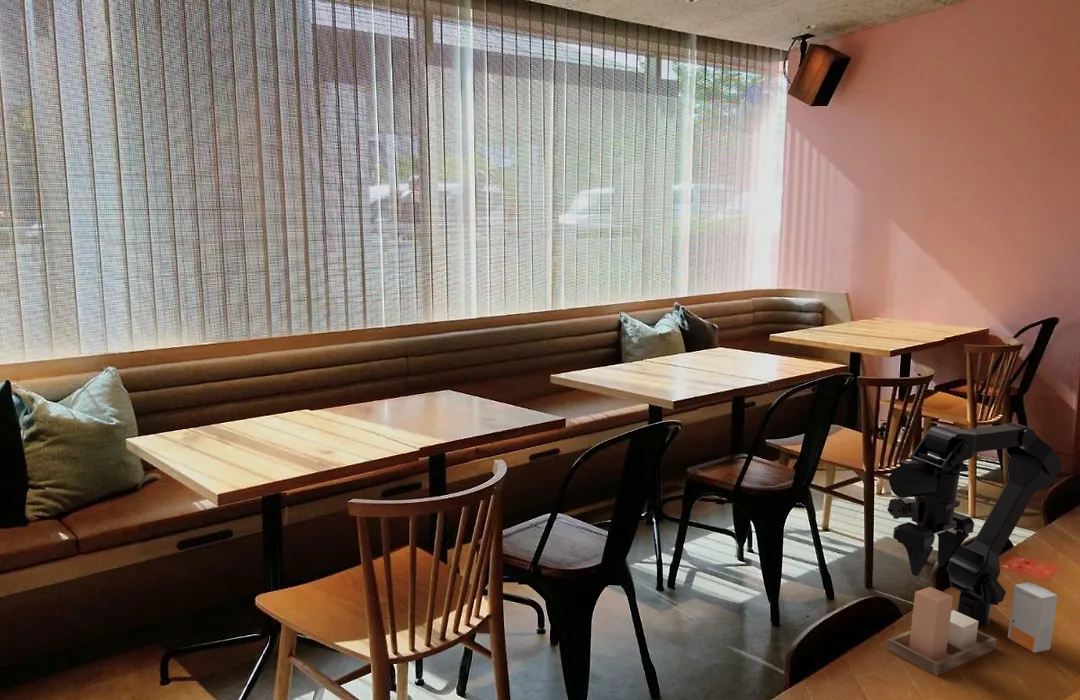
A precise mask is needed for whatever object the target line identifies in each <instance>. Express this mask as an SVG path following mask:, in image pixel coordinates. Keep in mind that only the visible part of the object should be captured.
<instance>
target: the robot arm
mask: <svg viewBox="0 0 1080 700" xmlns="http://www.w3.org/2000/svg"><path fill="white" fill-rule="evenodd" d="M997 450H1004V451H1005V454H1007V456H1008V458H1009V460H1008V462H1007V464H1006V468H1007V469H1006V470H1007V478H1008V479H1007V482H1006V484H1005V486H1004V488H1003V489H1002V492H1001V493H1000V495H998V496H999V497H998V498H997V500H996V501H995V504H994V505H993V507H992V509H991V511H990V512H989V514H988V516H987V518H986V519H985V521H984V523H983V524H982V526H981V528H980V530H979V532H978V533H977V535H976V536H975V538H974V540H973V542H971V543H969V544H968V545H963V542H965V540H966V539H967V538H968V537H969V534H972V533H974V527H975V521H973V519H972V517H971V516H968V515H965V514H962V513H959V512H956V511H955V508H959V507H961V506H960V505H961V501H960V500H958V499H957V495H958V489H959V487H958V486H959V481H960V474H961V473H965V472H968V471H969V470H970V468H969V467H968V466H967V465H966V464H965V463H964V462H966V461H968V460H971V459H973V458H974V456H975V454H978V453H981V452H989V451H997ZM909 459H910V460H906V459H903V460H902V459H901V460H900V462H899V466H898V467H894V469H892V471H891V473H890V474H889V477H888V483H889V484H888V485H889V487H890V490H891V492H892V493H893V494H894V495H895V496H896V497H898V498H896V497H895V498H892V499H890V500H889V503H888V507H887V509H886V511H887V512H888V513H889V515H890V516H892V518H893V519H894V520H898V519H905V518H906V519H908V518H911V522H910V521H908V522H904V523H901V524H898V525H897V526H895V527H894V528H893V534H892V538H893V539H895V540H896V541H897V542H898V543H900V544H902V545H903V547H904V548H905V550H906V552H907V556H908V563H909V566H910V571H911V575H913V576H914V577H918V576H920V574H921V572H922V571H923V569H924V567H925V565H926V563H927V561H928V559H929V557H930V555H931V554H932V553H933V550H934V546H933V544H934V543H935V538H936V536H937V537H938V539H937V540H938V541H937V565H938V566H940V567H945V566H946V565H947V563H948V562H949V563H948V566H947V568H946V570H947V573H948V579H949V585H950V587H951V588H953V589H956V590H958V591H959V597H958V603H957V612H959V613H961V614H963V615H966V616H968V617H970V618H972V619H975V620H977V621H978V627H979V626H980V627H983V626H987V625H989V623H990V618H991V610H992V606H998V605H999V603H1002V602H1003V601H1004V598H1005V596H1006V593H1007V591H1006V589H1004V587H1003V585H1001V584H1000V582H999V580H998V579H999V576H1000V574H1001V565H1000V555H1001V553H1002V551H1003V549H1004V548H1005V546H1006V544H1007V542H1008V541H1009V539H1010V537H1011V535H1012V533H1013V532H1014V529H1015V528H1016V527H1017V525H1018V523H1019V521H1020V519H1021V517H1022V515H1023V514H1024V512H1025V511H1026V509H1027V508H1028V505H1029V503H1030V502H1031V500H1032V498H1033V497H1034V495H1035V494H1036V493H1037V492H1039V491H1041V490H1043V489H1044V488H1046V487H1048V486H1050V485H1051V484H1052V482H1053V481H1054V480H1055V478H1056V477H1057V475H1058V474H1059V473H1060V471H1061V469H1062V461H1061V459H1060V456H1059V454H1058V453H1057V451H1055V450H1054V449H1053V447H1052V446H1050V445H1049V444H1048V443H1046V441H1044V440H1043V439H1041V438H1040V437H1039V436H1038V435H1037V433H1036V432H1035V431H1034V430H1033V429H1032V428H1031V427H1030V426H1029V427H1028V426H1026V425H1022V424H1019V423H1015V422H1006V423H1005V424H999V425H992V426H984V427H976V428H968V429H964V428H963V429H962V428H956V427H951V426H944V425H934V426H931V427H929V429H928V431H927V432H926V433H925V435H924V436H923V437H922V439H921V440H920V442H919V443H918V444H917V446H916V447H915V449H914V451H913V452H912V453H911V454H910V456H909ZM907 498H908V499H907ZM913 522H914V523H913ZM916 523H917V524H916ZM918 523H919V524H920V525H919V524H918ZM935 535H936V536H935Z"/></svg>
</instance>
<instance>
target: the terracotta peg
mask: <svg viewBox="0 0 1080 700" xmlns="http://www.w3.org/2000/svg"><path fill="white" fill-rule="evenodd" d="M953 597H954V596H952V595H951V594H948V593H946V592H943V591H941V590H939V589H936V588H934V587H932V586H928V587H926V588H922V589H920V590H916V591H914V600H913V607H912V616H911V625H910V626H911V627H910V630H911V634H910V643H909V648H910V649H912V650H914V651H916V652H918V653H920V654H922V655H924V656H926V657H928V658H930V659H932V660H934V661H936V662H937V661H939V660H942V659H944V658H946V651H947V642H948V634H949V626H950V617H951V611H952V606H953V601H954V600H953V599H954V598H953Z"/></svg>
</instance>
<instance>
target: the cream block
mask: <svg viewBox="0 0 1080 700" xmlns="http://www.w3.org/2000/svg"><path fill="white" fill-rule="evenodd" d="M978 627H979V626H978V621H977V620H975V619H972V618H970V617H968V616H966V615H963V614H961V613H959V612H957V611H956V610H954V609H953V610H952V609H951V617H950V626H949V634H948V641H950V642H952V643H954V644H956V645H958V646H960V647H962V648H964V649H967V648H969V647H971V646H974V645H976V637H977V630H979V629H978Z"/></svg>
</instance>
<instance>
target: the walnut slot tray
mask: <svg viewBox="0 0 1080 700" xmlns="http://www.w3.org/2000/svg"><path fill="white" fill-rule="evenodd" d="M910 634H911V629H910V630H906V631H905V632H902V633H900V634H897V635H895V636H893V637H890V638H888V639H886V640H887V641H886V651H889V652H891V653H892V654H895V655H896V656H898V657H900V658H902V659H904V660H906V661H908V662H909V663H911V664H913V665H915V666H917V667H919V668H921V669H923V670H925V671H926V672H929V673H931V674H933V675H934V676H937V677H938V676H939V675H941V674H943V673H946V672H949V671H951V670H952V669H953V670H954V669H955V668H957V667H959V666H961V665H964V664H966V663H968V662H970V661H973V660H975V659H977V658H980V657H981V656H983V655H985V654H988V653H990V652H993V651H995V650H996V648H997V641H998V639H997V638H995V637H994V636H991V635H989V634H987V633H984V632H982V631H980V630H979V629H977V637H976V645H974V646H971V647H969V648H967V649H964V648H962V647H960V646H958V645H956V644H954V643H952V642H950V641H948V642H947V651H946V658H944V659H942V660H939V661H937V662H936V661H934V660H932V659H930V658H928V657H926V656H924V655H922V654H920V653H918V652H916V651H914V650H912V649H910V648H909V643H910Z"/></svg>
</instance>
